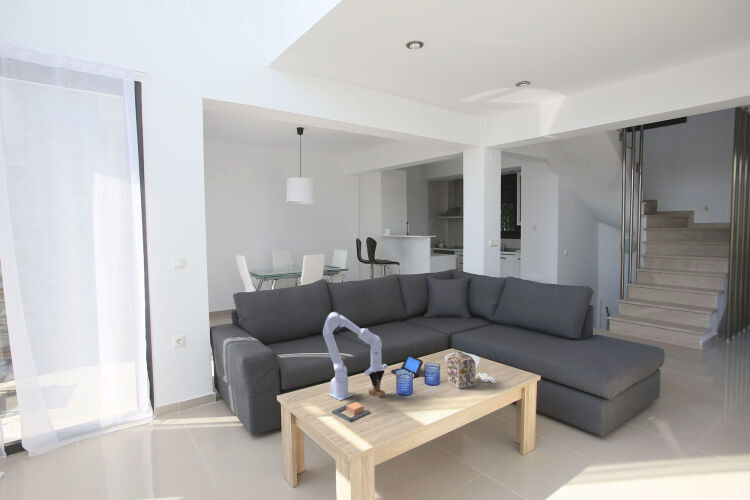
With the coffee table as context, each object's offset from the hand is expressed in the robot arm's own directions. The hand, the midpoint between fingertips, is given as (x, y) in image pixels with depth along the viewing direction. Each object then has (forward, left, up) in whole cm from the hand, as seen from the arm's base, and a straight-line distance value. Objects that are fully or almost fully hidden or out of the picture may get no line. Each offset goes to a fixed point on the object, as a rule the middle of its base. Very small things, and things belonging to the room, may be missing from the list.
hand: (376, 384), depth 219 cm
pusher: (0, 0, -6) cm, 6 cm away
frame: (+6, -23, -5) cm, 25 cm away
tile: (+6, -21, -6) cm, 22 cm away
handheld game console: (-8, +34, -6) cm, 35 cm away
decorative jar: (+24, +43, -6) cm, 50 cm away
